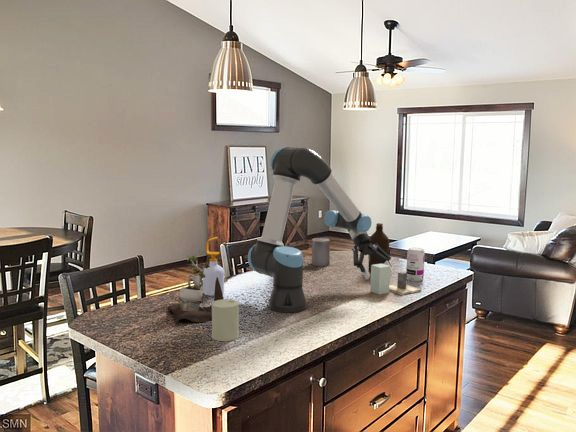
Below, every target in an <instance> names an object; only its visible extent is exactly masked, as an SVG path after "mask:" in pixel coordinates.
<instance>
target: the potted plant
mask: <svg viewBox="0 0 576 432" xmlns="http://www.w3.org/2000/svg"><path fill="white" fill-rule="evenodd" d="M187 257H188V258H187V259H186V260H187V262H189V261H191V263H189V264H187V267H189V268H190V269H192V268H193V269H192V272H193V274H192V273H189V274H188V280H187V285H188V286H186V287H181V290H180V291H179V296H178V297H177V298H178V299H179V301H180V302H181V303H177V304H172V305H169V306H168V307H167V313H169V312H171V313H173V319H174V320H175V322H174V323H175V324H177V323H178V322H179V321H181V320H184V319H185V320H188V321H191V322H193V323H208V322H209V321H210V320H211V321H212V304H210V306H202V307H201V306H200V304H202V303H203V295H204V294H203V289H202V287H203V278H205V274H203V272H204V268H206V269H207V268H208V267H210V266H209V264H210V263H205V262H204V263H203V261H200V263H199V264H198V257H197V256H196V255H195V256H194V255H191V254H188V255H187ZM203 264H204V265H203ZM200 266H202V268H201V267H200ZM196 274H197V275H196ZM191 281H192V284H193V285H194V286H192V285H191ZM222 299H224V293H223V294H222V290H221V286H220V283H219V280H218V277H217V278H216V282H215V293H214V296H213V301H212V302H214V301H216V300H222Z"/></svg>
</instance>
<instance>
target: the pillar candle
mask: <svg viewBox="0 0 576 432" xmlns="http://www.w3.org/2000/svg"><path fill="white" fill-rule="evenodd" d="M330 241H331V239H330V238H326V237H314V238H312V239H311V265H313V266H316V267H327V266H329V265H330V262H331V261H330V256H331V255H330V254H331V253H330V252H331V251H330V250H331V248H330V247H331V246H330V245H331V242H330Z"/></svg>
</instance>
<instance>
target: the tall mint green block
mask: <svg viewBox="0 0 576 432" xmlns="http://www.w3.org/2000/svg"><path fill="white" fill-rule="evenodd" d="M390 279H391V276H390V266H388V265H385V264H374V265H371V273H370V288H369V290H370V292H371V293H374V294H376V295H383V294H389V293H390V291H389V285H390V281H391V280H390Z"/></svg>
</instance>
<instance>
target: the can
mask: <svg viewBox="0 0 576 432" xmlns="http://www.w3.org/2000/svg"><path fill="white" fill-rule="evenodd" d="M213 301H214V300H213ZM213 301H212V302H211V305H212V319H211V338H212V339H213V340H215V341H218V342H231V341H235V340H237V339H238V338H239V336H240V334H239V331H240V330H239V329H240V328H239V320H240V319H239V315H240V314H239V310H240V308H239V307H240V304H239V303H240V302H239V301H237V300H235V299H231V298H230V299H229V298H227V299H226V298H223V299H222V300H216V301H214V302H213Z"/></svg>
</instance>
